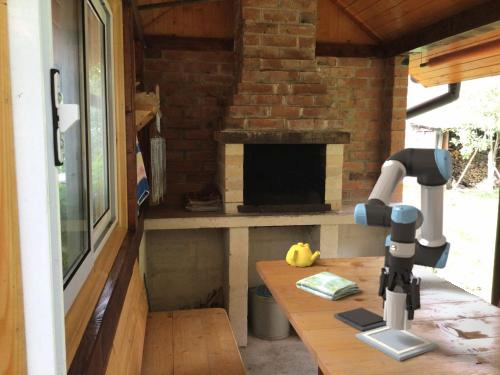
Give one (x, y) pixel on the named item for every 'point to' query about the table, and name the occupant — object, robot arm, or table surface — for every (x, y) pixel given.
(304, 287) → the towel
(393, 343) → the board
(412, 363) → the table surface
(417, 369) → the table surface
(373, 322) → the ink pad
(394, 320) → the cup
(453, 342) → the table surface
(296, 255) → the teapot
